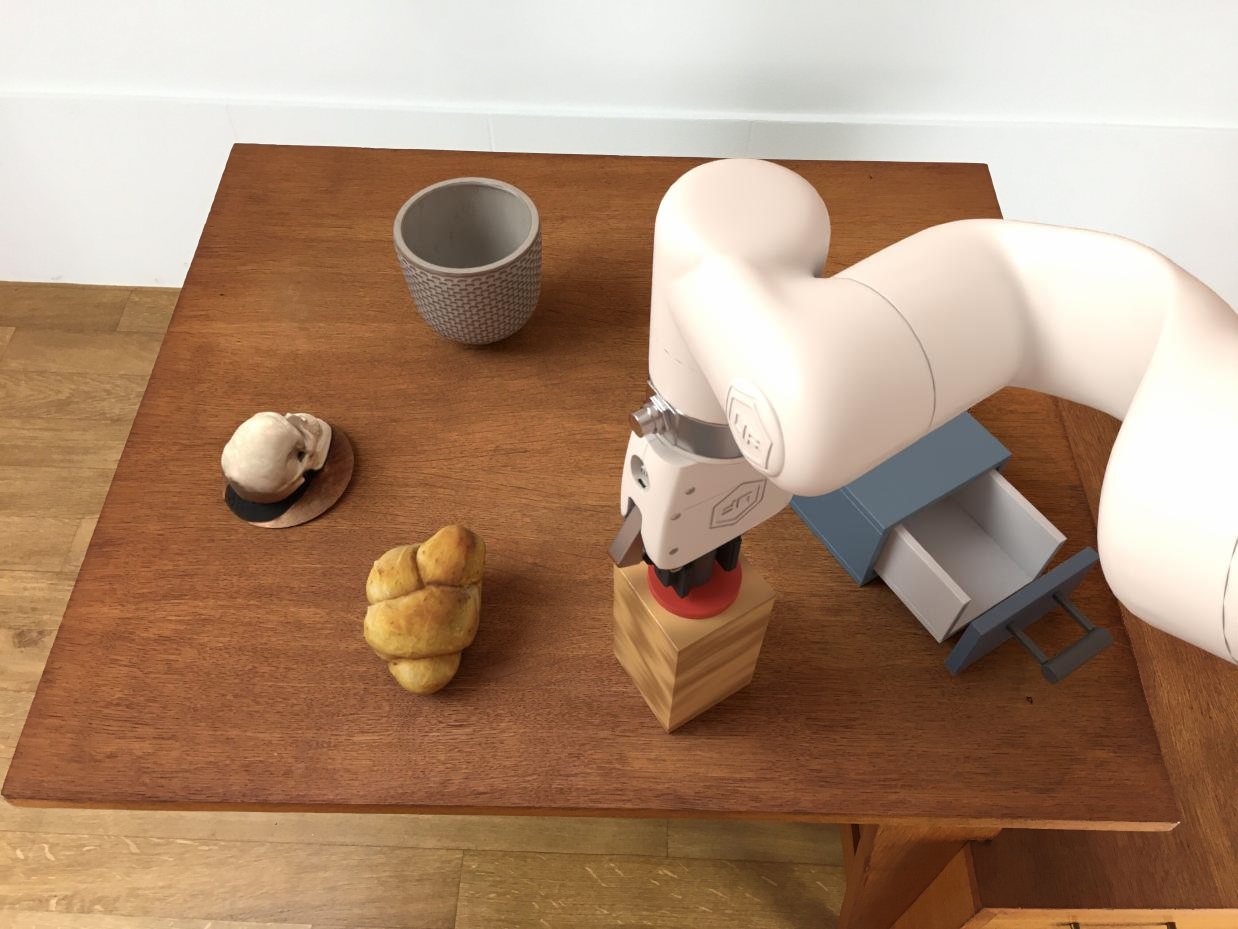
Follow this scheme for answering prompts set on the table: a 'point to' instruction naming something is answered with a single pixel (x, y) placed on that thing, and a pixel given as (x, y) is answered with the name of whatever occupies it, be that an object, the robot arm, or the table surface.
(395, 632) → the bread roll
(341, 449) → the skull
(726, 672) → the wooden block
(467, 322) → the planter
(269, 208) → the table surface
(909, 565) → the blue pull-out drawer box
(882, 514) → the slate drawer box
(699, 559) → the pan lid
